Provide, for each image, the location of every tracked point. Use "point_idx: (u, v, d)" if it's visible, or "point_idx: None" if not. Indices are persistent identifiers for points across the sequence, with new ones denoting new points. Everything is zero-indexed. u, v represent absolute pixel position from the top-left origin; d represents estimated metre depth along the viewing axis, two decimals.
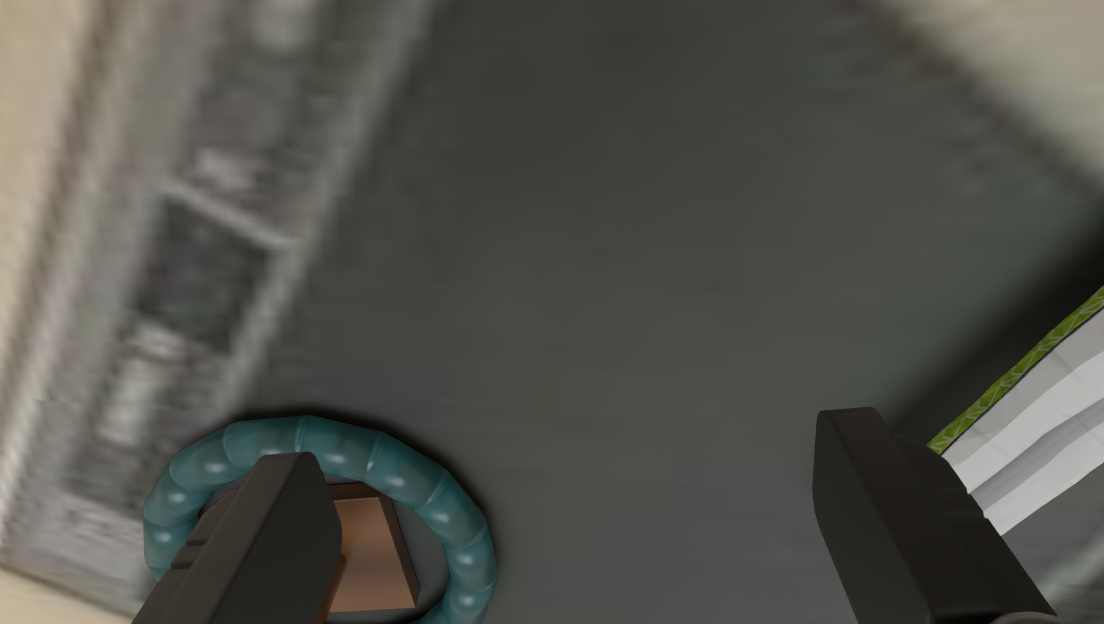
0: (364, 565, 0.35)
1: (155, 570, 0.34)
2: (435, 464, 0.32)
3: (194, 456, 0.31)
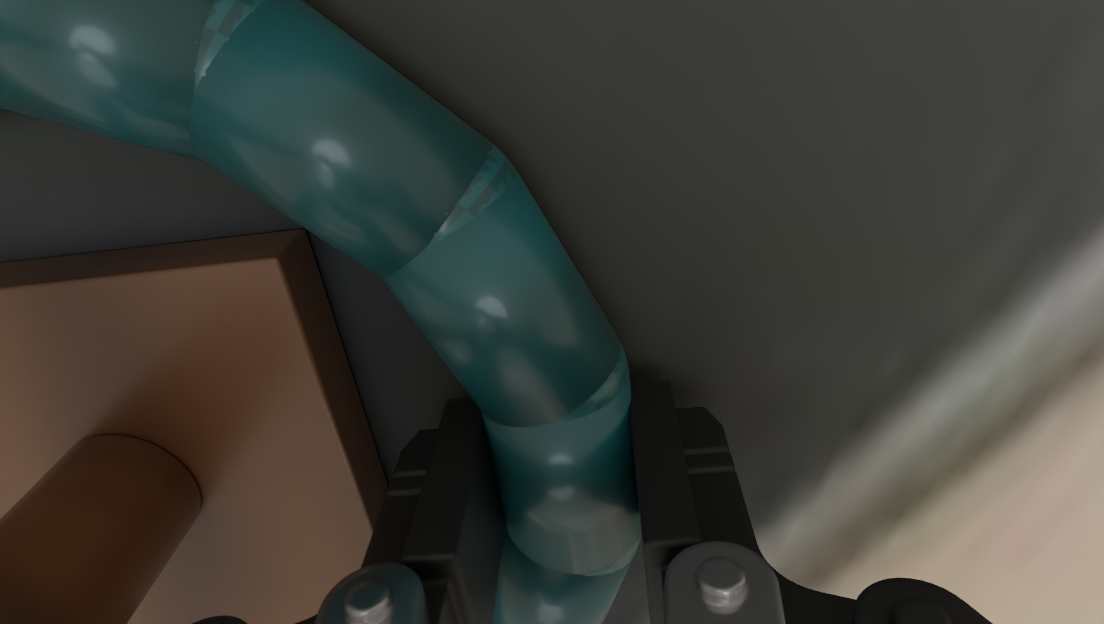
0: (112, 387, 0.11)
1: None
2: None
3: None
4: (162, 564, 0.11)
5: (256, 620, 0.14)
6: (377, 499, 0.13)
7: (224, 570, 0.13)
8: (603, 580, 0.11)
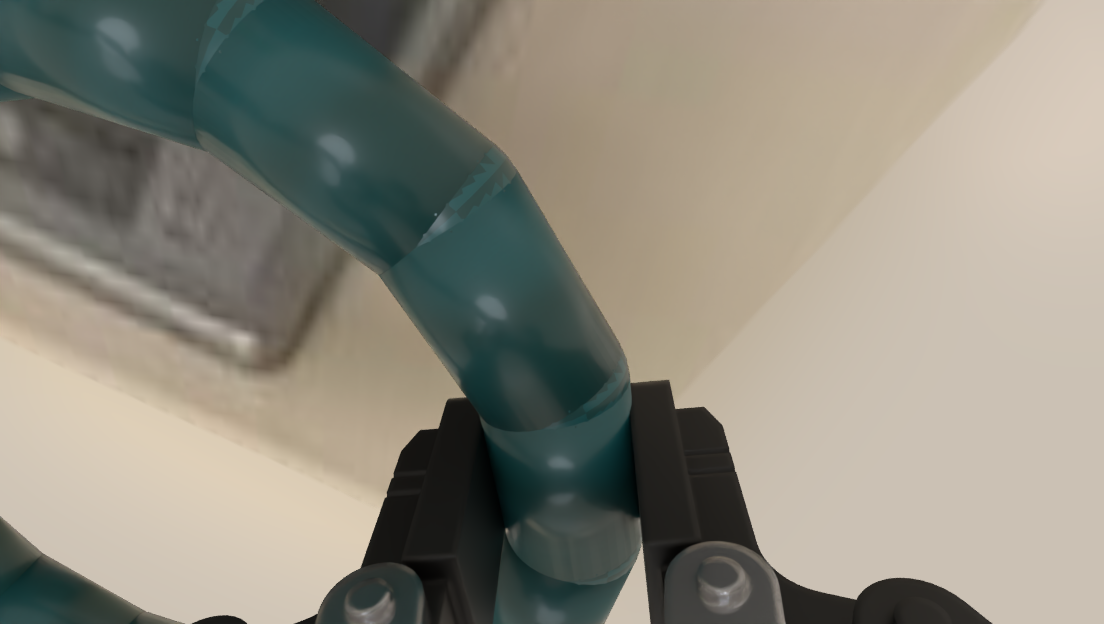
0: None
1: None
2: None
3: None
4: None
5: None
6: None
7: None
8: (594, 589, 0.11)
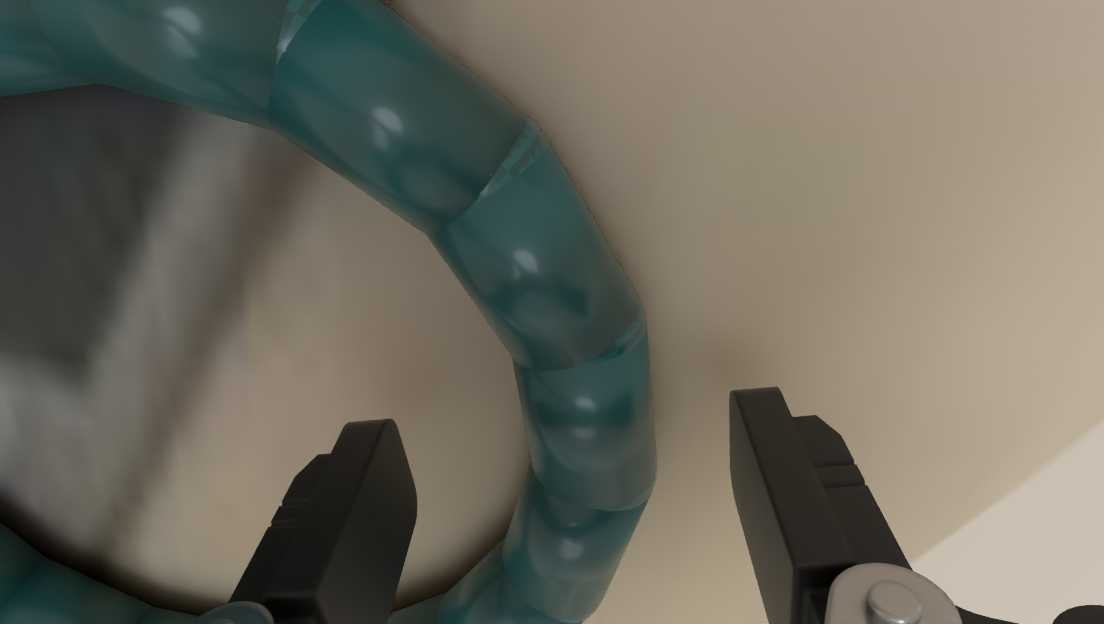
0: None
1: None
2: None
3: None
4: None
5: None
6: None
7: None
8: (621, 516, 0.12)
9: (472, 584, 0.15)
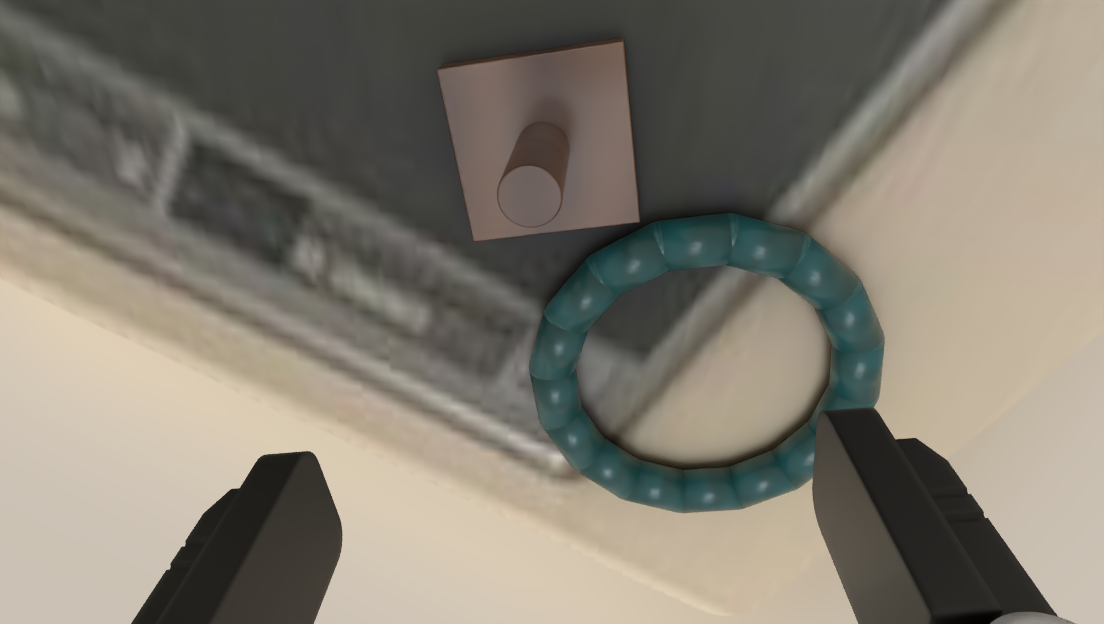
0: (547, 100, 0.29)
1: (686, 509, 0.38)
2: (581, 264, 0.33)
3: (560, 451, 0.38)
4: None
5: (575, 224, 0.32)
6: None
7: (568, 194, 0.31)
8: (869, 406, 0.35)
9: (794, 441, 0.37)
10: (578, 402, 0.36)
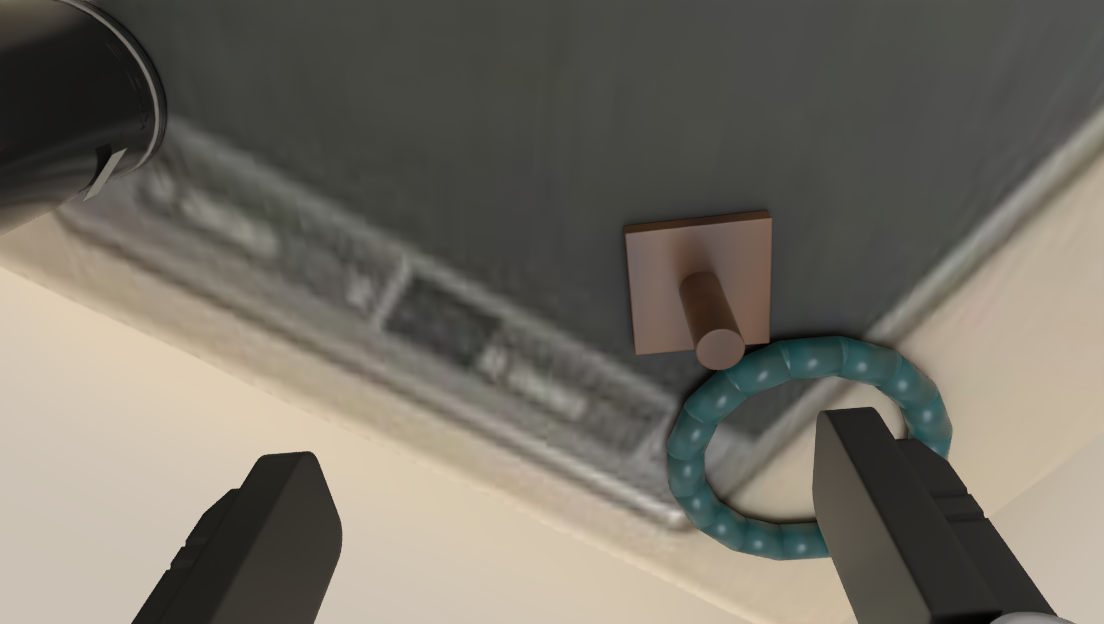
0: (708, 256, 0.38)
1: (784, 558, 0.48)
2: (717, 371, 0.42)
3: (686, 513, 0.46)
4: None
5: None
6: None
7: None
8: None
9: None
10: (704, 475, 0.45)
